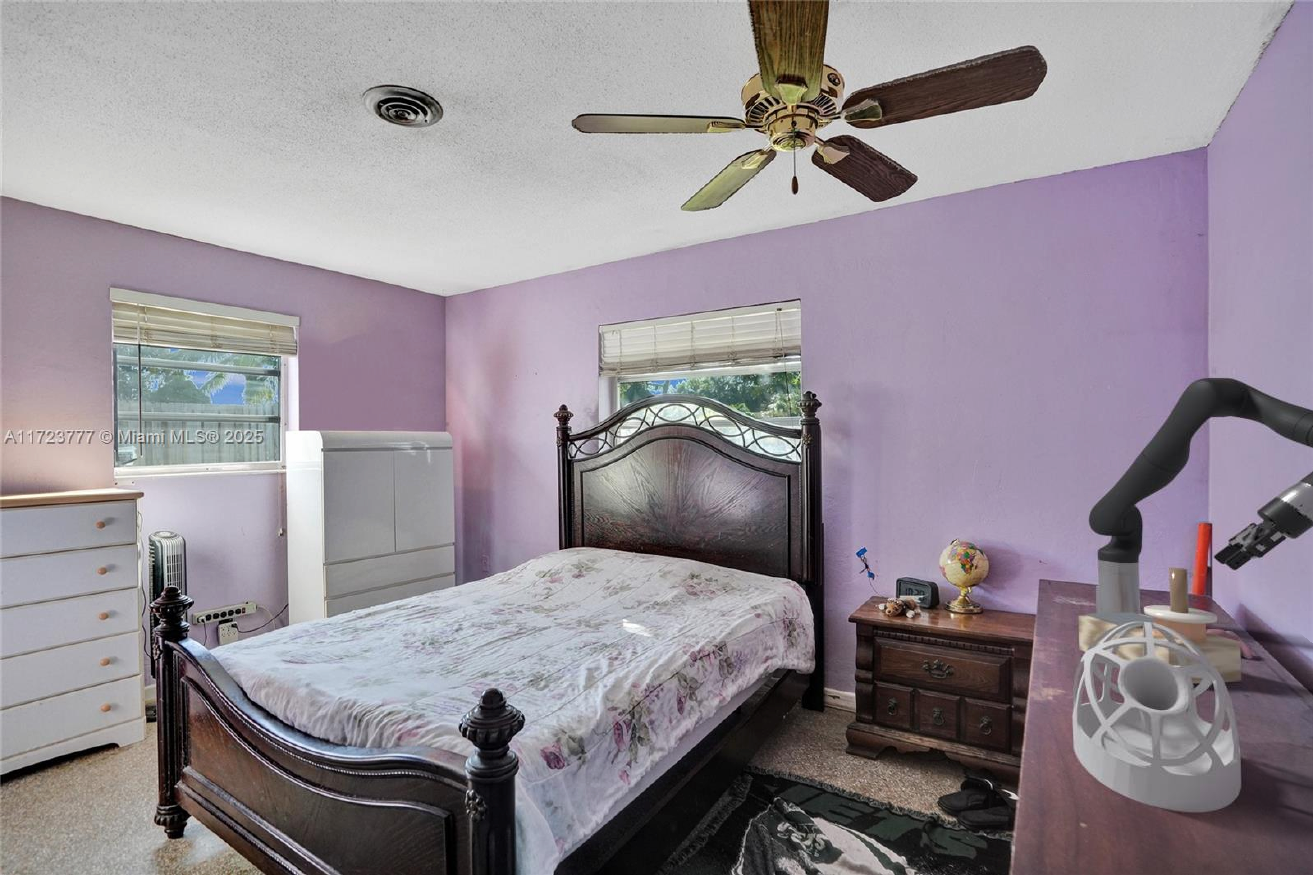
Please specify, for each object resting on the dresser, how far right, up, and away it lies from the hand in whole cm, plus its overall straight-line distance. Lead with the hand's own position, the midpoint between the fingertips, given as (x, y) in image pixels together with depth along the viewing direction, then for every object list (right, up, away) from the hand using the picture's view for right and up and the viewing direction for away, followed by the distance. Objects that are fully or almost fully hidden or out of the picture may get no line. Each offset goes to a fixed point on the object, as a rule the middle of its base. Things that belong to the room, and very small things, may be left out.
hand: (1223, 563), depth 133 cm
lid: (-6, -12, +3) cm, 14 cm away
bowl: (-6, -16, +3) cm, 17 cm away
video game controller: (+13, -25, +15) cm, 32 cm away
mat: (-8, -16, +16) cm, 24 cm away
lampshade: (-44, -23, -38) cm, 63 cm away
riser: (-7, -24, +9) cm, 27 cm away
